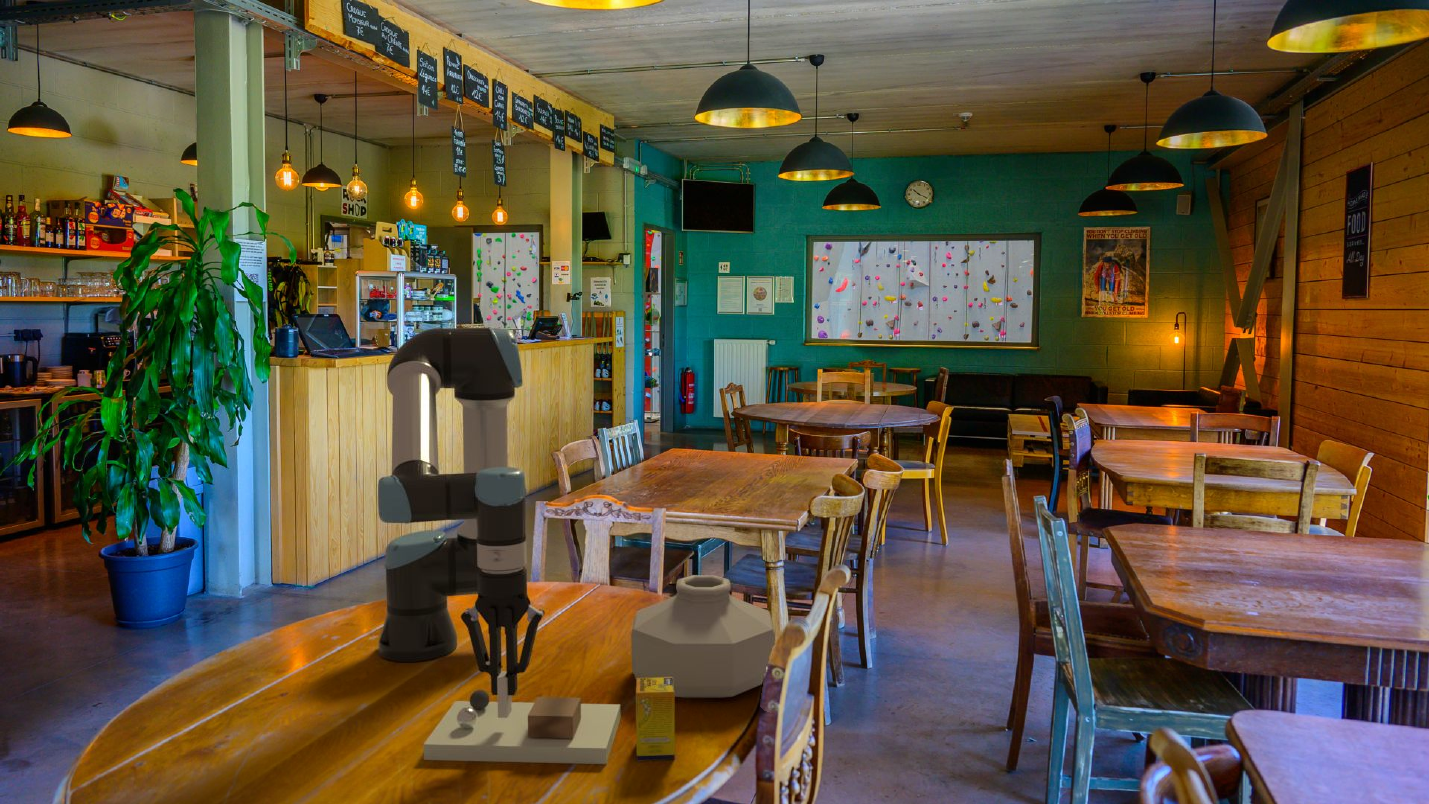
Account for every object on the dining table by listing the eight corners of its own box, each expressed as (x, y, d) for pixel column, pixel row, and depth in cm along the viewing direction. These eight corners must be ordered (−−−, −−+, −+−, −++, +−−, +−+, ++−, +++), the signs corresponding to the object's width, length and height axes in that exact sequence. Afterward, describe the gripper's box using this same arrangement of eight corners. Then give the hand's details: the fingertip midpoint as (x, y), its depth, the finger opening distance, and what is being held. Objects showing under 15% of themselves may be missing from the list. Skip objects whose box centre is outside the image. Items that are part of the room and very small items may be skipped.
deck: (423, 759, 147) (423, 744, 147) (455, 715, 163) (455, 701, 163) (606, 764, 146) (606, 748, 146) (620, 718, 162) (620, 704, 162)
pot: (608, 663, 187) (608, 569, 185) (739, 643, 198) (740, 555, 196) (657, 720, 162) (657, 612, 160) (805, 694, 173) (806, 593, 171)
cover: (528, 737, 149) (527, 715, 148) (538, 717, 156) (537, 697, 155) (573, 738, 148) (572, 716, 148) (580, 718, 155) (580, 697, 155)
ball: (454, 731, 151) (453, 712, 151) (460, 723, 154) (460, 703, 154) (474, 732, 151) (474, 712, 151) (480, 723, 154) (479, 704, 154)
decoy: (467, 713, 158) (466, 694, 158) (473, 704, 161) (472, 686, 161) (486, 713, 158) (486, 694, 158) (491, 705, 161) (491, 686, 161)
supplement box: (635, 743, 153) (635, 677, 152) (673, 742, 153) (673, 676, 152) (635, 761, 147) (635, 692, 146) (675, 760, 148) (675, 691, 146)
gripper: (453, 573, 146) (456, 723, 148) (538, 574, 146) (540, 725, 148) (467, 561, 154) (470, 703, 156) (548, 562, 153) (550, 705, 155)
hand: (504, 714), depth 152 cm, fingers closed
